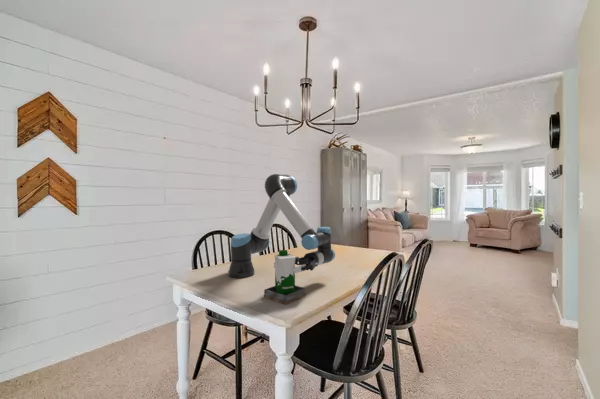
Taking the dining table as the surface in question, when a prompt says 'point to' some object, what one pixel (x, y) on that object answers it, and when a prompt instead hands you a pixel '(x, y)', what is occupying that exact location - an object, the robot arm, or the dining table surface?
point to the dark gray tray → (284, 299)
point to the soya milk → (284, 273)
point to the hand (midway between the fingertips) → (284, 267)
